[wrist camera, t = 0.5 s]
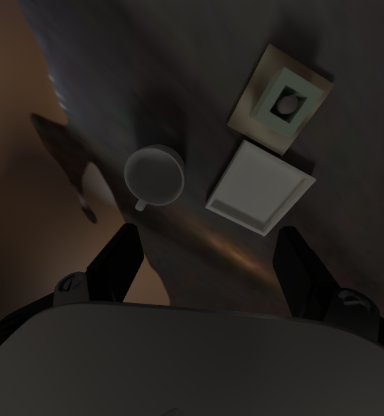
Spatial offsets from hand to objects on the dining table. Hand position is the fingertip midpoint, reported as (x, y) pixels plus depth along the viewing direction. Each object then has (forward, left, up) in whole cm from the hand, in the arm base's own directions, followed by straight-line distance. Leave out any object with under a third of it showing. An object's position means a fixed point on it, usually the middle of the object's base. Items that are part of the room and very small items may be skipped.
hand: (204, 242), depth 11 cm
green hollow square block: (-13, +6, -26) cm, 29 cm away
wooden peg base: (-13, +6, -27) cm, 30 cm away
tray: (+2, +12, -27) cm, 29 cm away
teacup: (+8, -8, -27) cm, 29 cm away
